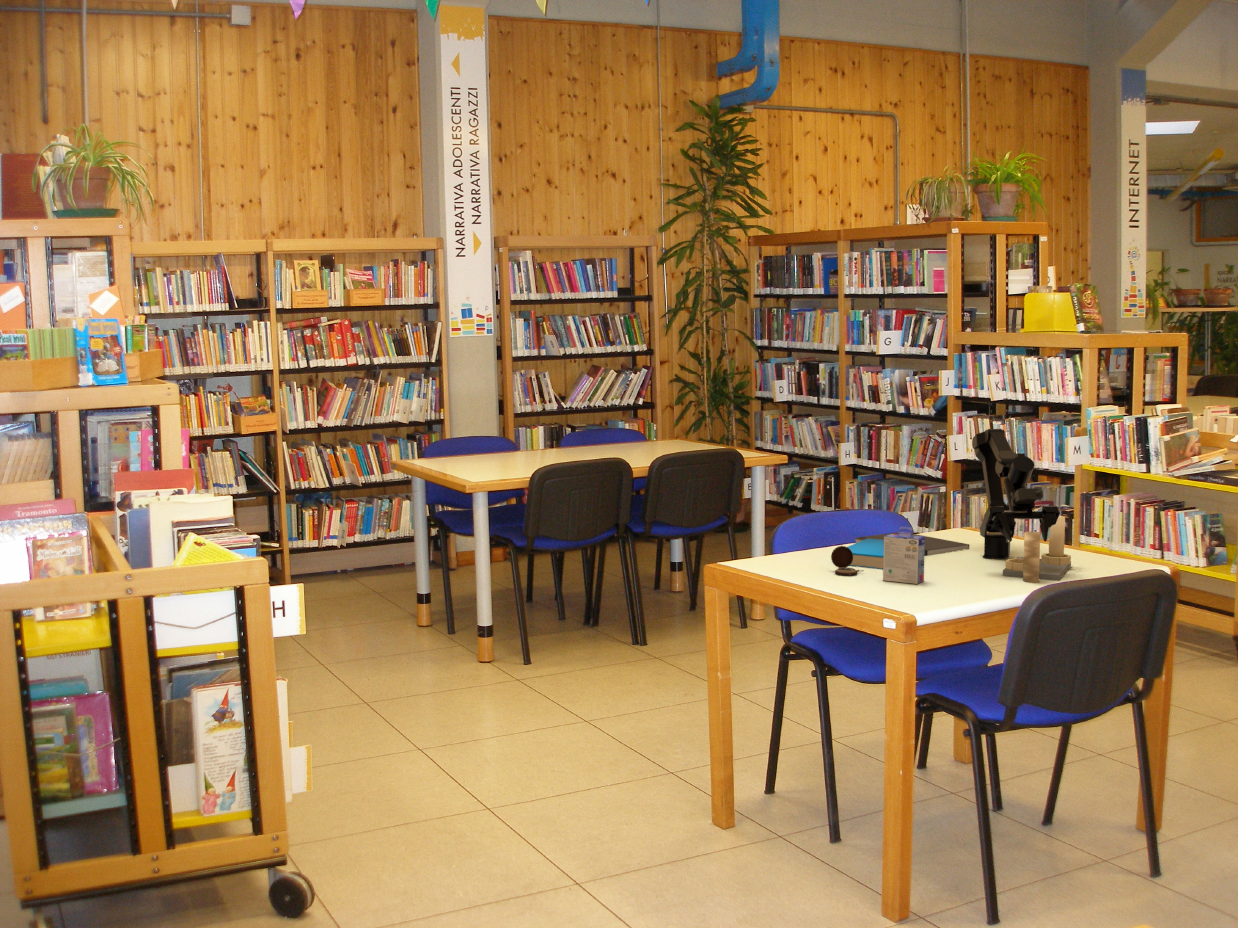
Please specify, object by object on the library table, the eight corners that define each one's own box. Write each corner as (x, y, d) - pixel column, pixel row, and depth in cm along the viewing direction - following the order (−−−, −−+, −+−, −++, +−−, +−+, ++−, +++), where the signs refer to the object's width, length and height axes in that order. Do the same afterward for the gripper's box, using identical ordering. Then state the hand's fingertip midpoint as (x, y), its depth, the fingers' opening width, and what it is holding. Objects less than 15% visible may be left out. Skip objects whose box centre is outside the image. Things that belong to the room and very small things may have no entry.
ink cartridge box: (925, 581, 314) (926, 527, 312) (918, 584, 309) (919, 530, 307) (889, 577, 319) (890, 524, 317) (882, 581, 314) (883, 527, 313)
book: (920, 543, 349) (892, 555, 328) (920, 557, 349) (891, 570, 328) (865, 538, 358) (834, 549, 337) (864, 552, 359) (834, 564, 337)
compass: (839, 576, 320) (839, 550, 319) (830, 571, 328) (830, 545, 327) (867, 576, 321) (867, 549, 320) (858, 570, 329) (858, 544, 328)
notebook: (969, 551, 359) (901, 538, 383) (969, 543, 359) (901, 531, 383) (919, 558, 348) (852, 544, 371) (919, 551, 347) (852, 537, 371)
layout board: (1002, 575, 320) (1004, 523, 318) (1017, 561, 338) (1019, 512, 337) (1059, 580, 312) (1061, 526, 311) (1071, 566, 331) (1073, 515, 330)
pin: (1021, 581, 312) (1023, 533, 310) (1024, 578, 315) (1025, 531, 314) (1037, 583, 310) (1038, 534, 308) (1040, 580, 313) (1041, 532, 312)
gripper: (989, 476, 319) (999, 523, 309) (1058, 476, 318) (1071, 522, 308) (980, 501, 327) (990, 547, 317) (1048, 501, 326) (1060, 547, 317)
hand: (1028, 540), depth 315 cm, fingers open, 9 cm apart
